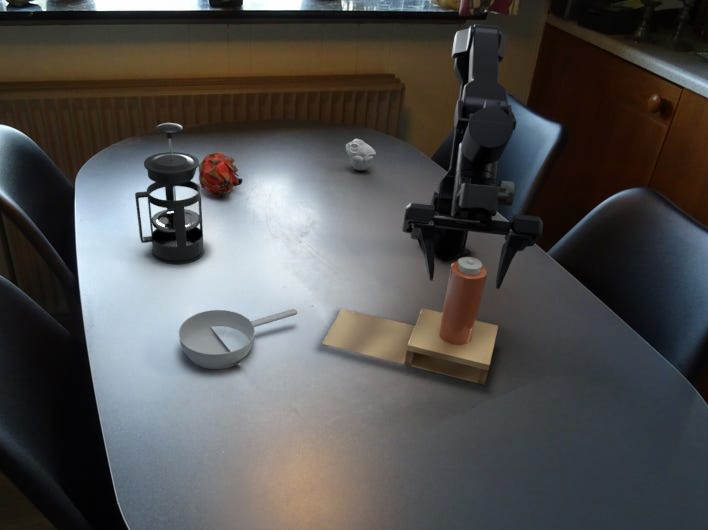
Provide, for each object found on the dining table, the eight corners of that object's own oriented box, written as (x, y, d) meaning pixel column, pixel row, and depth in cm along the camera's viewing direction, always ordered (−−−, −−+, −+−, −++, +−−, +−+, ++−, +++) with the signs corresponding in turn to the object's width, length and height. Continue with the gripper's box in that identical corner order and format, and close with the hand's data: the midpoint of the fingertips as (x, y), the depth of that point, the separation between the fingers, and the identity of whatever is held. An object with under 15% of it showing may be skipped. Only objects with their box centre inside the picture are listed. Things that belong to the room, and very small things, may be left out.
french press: (202, 235, 126) (196, 114, 113) (213, 260, 119) (208, 133, 106) (138, 243, 123) (124, 118, 110) (145, 269, 116) (131, 139, 102)
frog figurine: (345, 163, 159) (347, 134, 155) (375, 166, 159) (378, 137, 155) (342, 172, 154) (345, 143, 150) (373, 176, 154) (376, 146, 150)
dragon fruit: (214, 184, 149) (229, 215, 141) (183, 167, 143) (196, 198, 136) (237, 154, 146) (253, 184, 138) (206, 136, 140) (221, 165, 133)
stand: (321, 348, 100) (323, 324, 98) (341, 313, 108) (343, 289, 105) (483, 389, 94) (489, 364, 92) (492, 349, 102) (498, 325, 100)
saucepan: (170, 338, 100) (168, 317, 98) (281, 312, 107) (281, 291, 105) (194, 382, 92) (192, 360, 90) (311, 350, 100) (312, 329, 98)
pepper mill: (447, 321, 100) (462, 247, 93) (477, 333, 98) (495, 258, 90) (432, 336, 97) (446, 260, 89) (462, 349, 94) (479, 272, 87)
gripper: (414, 147, 89) (400, 261, 86) (558, 162, 87) (548, 278, 85) (408, 179, 100) (396, 281, 97) (536, 192, 98) (527, 296, 96)
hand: (464, 284), depth 94 cm, fingers open, 9 cm apart
